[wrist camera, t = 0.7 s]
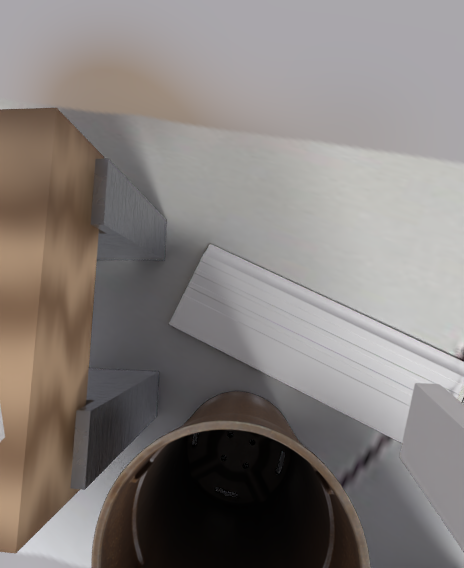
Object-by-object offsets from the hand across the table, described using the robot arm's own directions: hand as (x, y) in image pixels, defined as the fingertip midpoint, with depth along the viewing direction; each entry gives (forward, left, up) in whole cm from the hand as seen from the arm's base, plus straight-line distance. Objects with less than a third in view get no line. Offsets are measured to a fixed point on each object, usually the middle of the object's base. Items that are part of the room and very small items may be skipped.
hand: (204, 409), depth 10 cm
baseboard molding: (+1, -8, -26) cm, 27 cm away
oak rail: (+3, +14, -13) cm, 19 cm away
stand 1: (+12, +14, -25) cm, 31 cm away
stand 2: (-6, +14, -25) cm, 29 cm away
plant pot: (-11, 0, -25) cm, 28 cm away
